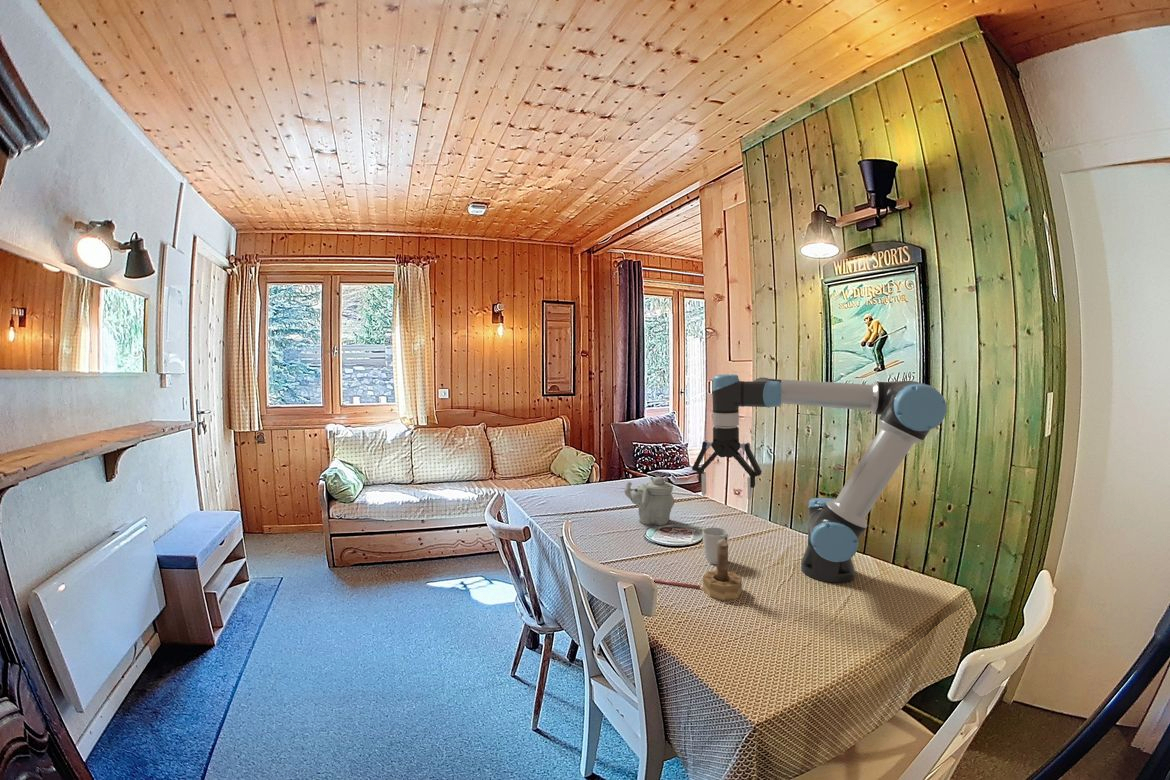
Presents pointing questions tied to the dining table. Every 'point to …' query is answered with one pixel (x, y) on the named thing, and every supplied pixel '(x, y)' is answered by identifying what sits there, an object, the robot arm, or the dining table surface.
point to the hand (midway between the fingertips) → (726, 496)
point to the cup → (713, 542)
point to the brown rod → (722, 560)
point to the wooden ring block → (722, 586)
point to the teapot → (652, 500)
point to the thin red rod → (677, 583)
